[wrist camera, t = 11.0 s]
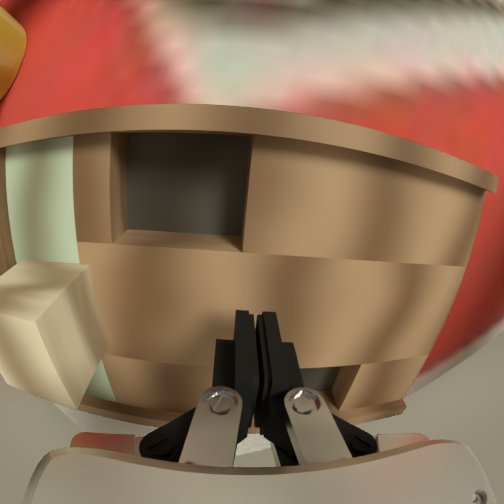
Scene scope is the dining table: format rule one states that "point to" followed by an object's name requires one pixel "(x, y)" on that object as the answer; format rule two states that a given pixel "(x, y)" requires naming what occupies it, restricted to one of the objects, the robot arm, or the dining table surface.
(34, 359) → the block
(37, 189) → the box
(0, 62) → the plant pot
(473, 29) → the dining table surface
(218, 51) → the dining table surface
